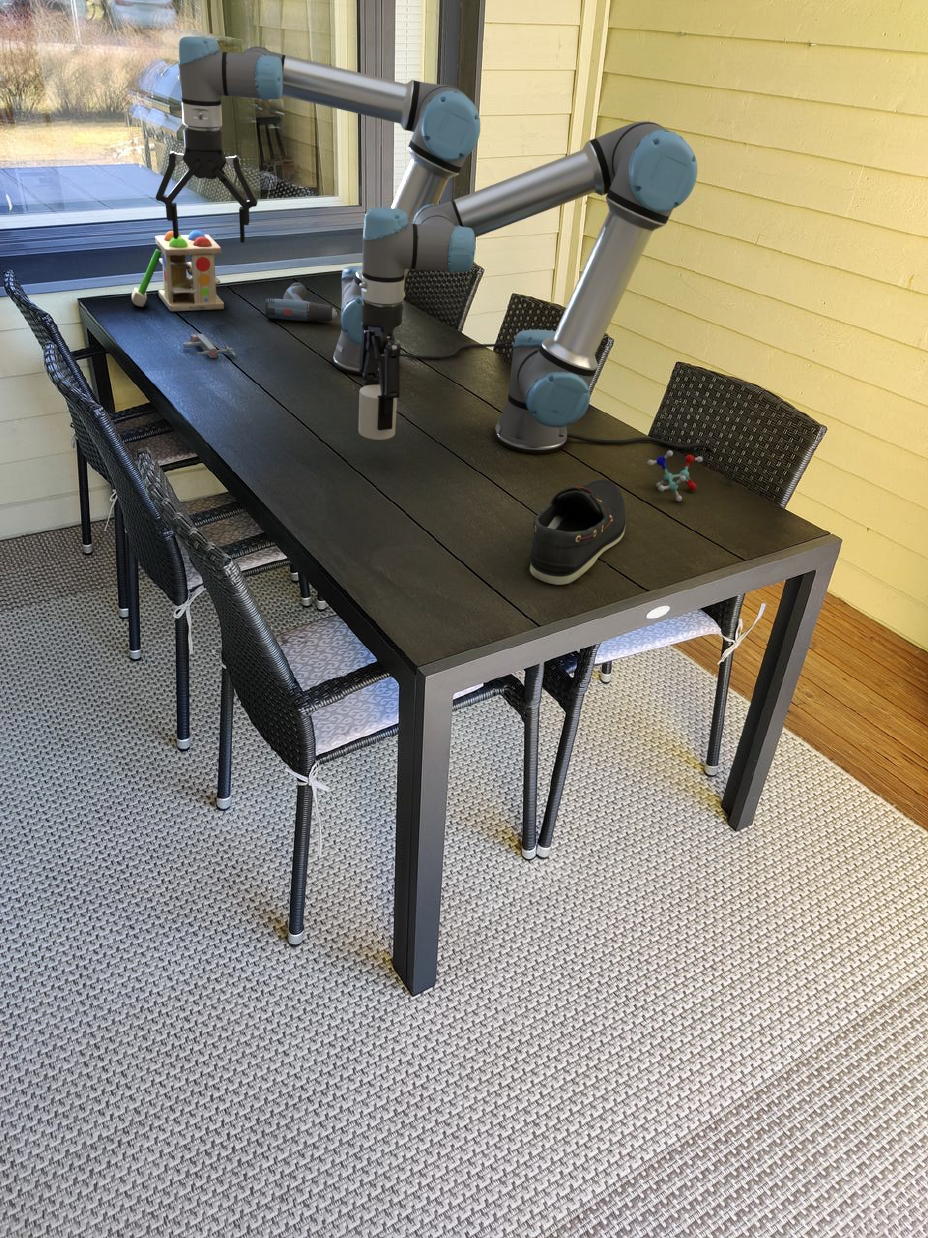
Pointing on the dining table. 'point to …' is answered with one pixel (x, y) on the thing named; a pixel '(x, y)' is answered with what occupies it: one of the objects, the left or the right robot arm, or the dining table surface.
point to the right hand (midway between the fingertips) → (377, 420)
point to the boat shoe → (576, 531)
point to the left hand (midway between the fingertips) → (209, 239)
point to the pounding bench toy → (184, 273)
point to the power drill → (298, 307)
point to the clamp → (206, 346)
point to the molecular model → (669, 477)
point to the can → (373, 414)
